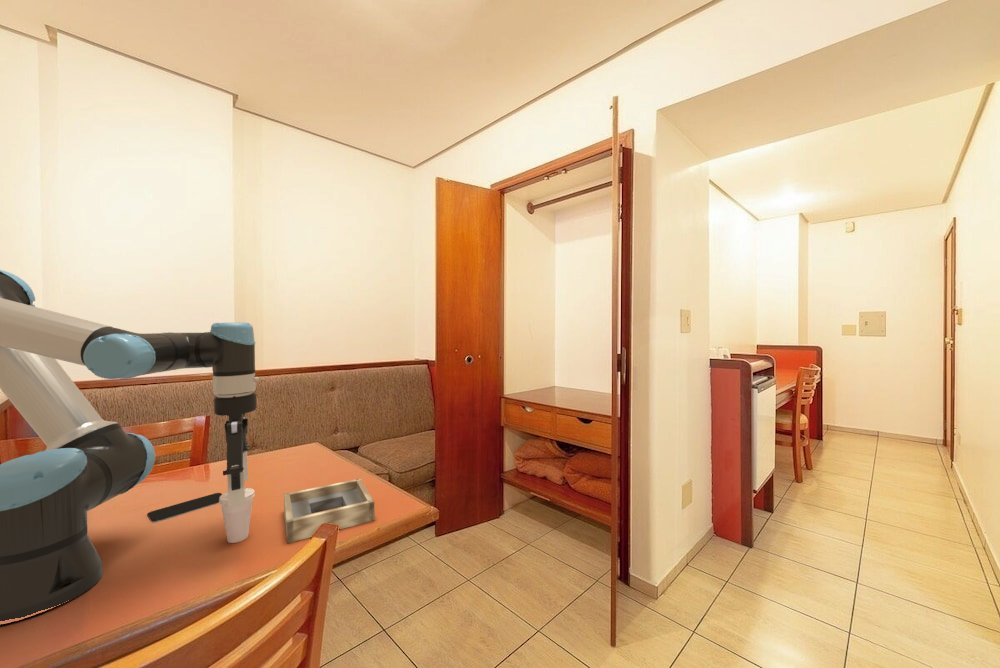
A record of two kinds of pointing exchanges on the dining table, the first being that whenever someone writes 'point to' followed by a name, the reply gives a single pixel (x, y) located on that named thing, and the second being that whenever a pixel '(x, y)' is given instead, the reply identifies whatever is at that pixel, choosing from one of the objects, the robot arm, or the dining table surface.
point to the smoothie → (237, 516)
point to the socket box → (326, 497)
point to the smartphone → (183, 507)
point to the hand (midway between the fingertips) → (239, 491)
